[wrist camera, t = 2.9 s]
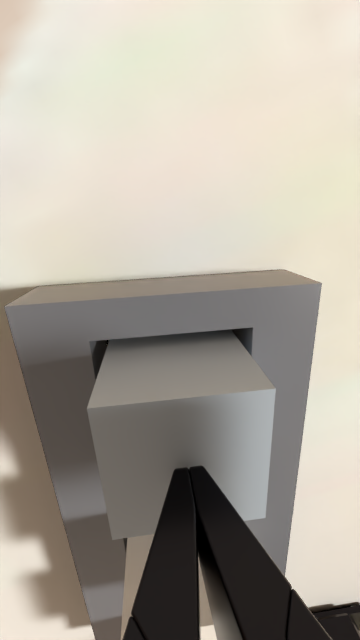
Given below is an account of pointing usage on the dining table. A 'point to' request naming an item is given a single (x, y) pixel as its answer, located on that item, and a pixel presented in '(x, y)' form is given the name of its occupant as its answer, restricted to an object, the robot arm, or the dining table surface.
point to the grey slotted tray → (152, 320)
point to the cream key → (133, 574)
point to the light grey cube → (179, 423)
